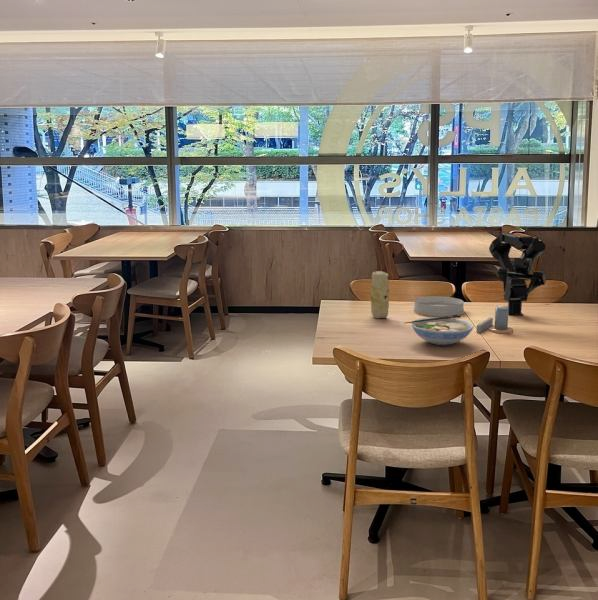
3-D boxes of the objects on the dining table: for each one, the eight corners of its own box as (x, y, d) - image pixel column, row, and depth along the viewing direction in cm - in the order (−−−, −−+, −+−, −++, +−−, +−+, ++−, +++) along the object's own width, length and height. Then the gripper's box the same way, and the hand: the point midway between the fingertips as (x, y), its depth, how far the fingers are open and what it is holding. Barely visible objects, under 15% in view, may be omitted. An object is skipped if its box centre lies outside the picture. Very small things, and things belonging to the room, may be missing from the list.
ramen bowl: (430, 354, 236) (431, 332, 234) (396, 339, 256) (396, 318, 255) (488, 346, 246) (489, 324, 244) (450, 332, 266) (451, 312, 265)
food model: (392, 317, 293) (393, 272, 289) (381, 320, 289) (381, 273, 285) (376, 314, 300) (377, 269, 296) (365, 316, 296) (366, 271, 293)
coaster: (486, 328, 274) (486, 326, 273) (509, 328, 273) (509, 326, 273) (492, 333, 265) (492, 331, 265) (515, 333, 265) (515, 331, 264)
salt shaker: (493, 327, 271) (494, 305, 270) (505, 327, 271) (506, 305, 270) (496, 330, 267) (497, 307, 265) (509, 330, 266) (510, 307, 265)
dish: (446, 305, 320) (446, 294, 319) (473, 314, 300) (474, 303, 299) (404, 309, 312) (405, 298, 311) (430, 318, 292) (430, 307, 291)
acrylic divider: (489, 324, 279) (490, 317, 279) (492, 324, 279) (492, 317, 278) (476, 332, 266) (476, 325, 266) (479, 332, 266) (479, 325, 265)
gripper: (500, 248, 282) (488, 278, 276) (545, 252, 271) (534, 283, 265) (506, 265, 290) (495, 294, 284) (550, 269, 279) (539, 299, 273)
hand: (515, 292), depth 276 cm, fingers open, 9 cm apart
